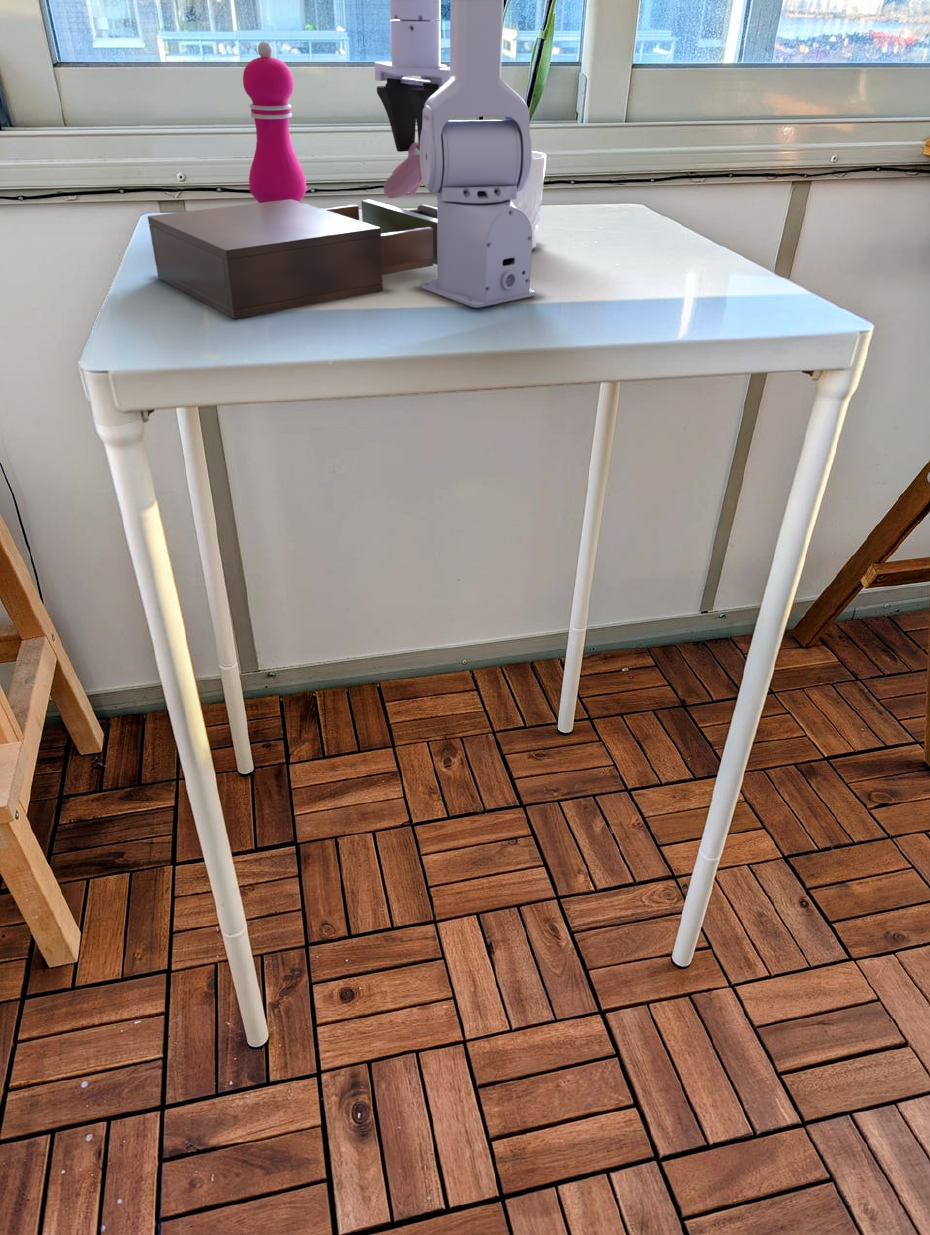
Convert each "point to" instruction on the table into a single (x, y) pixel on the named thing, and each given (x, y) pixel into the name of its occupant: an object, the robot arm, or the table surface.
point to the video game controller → (405, 175)
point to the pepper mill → (272, 130)
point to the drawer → (399, 233)
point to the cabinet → (266, 256)
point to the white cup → (532, 193)
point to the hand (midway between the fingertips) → (417, 153)
